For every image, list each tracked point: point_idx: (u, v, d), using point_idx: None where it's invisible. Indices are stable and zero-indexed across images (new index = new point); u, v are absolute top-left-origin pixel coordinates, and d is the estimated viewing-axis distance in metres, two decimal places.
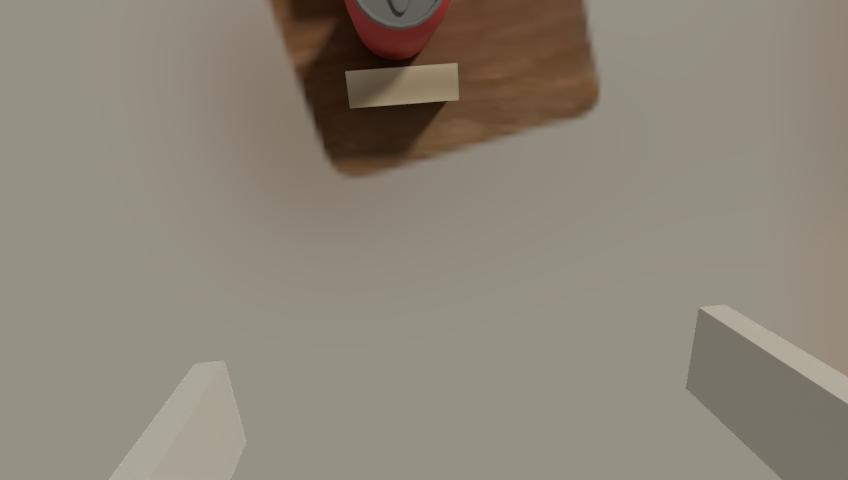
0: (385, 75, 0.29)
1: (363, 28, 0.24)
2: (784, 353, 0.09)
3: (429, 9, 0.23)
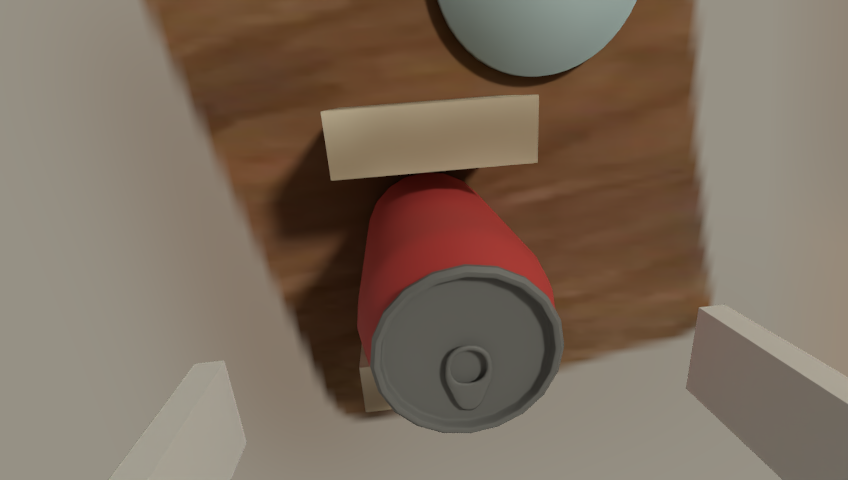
0: None
1: None
2: (784, 353, 0.09)
3: (522, 399, 0.12)
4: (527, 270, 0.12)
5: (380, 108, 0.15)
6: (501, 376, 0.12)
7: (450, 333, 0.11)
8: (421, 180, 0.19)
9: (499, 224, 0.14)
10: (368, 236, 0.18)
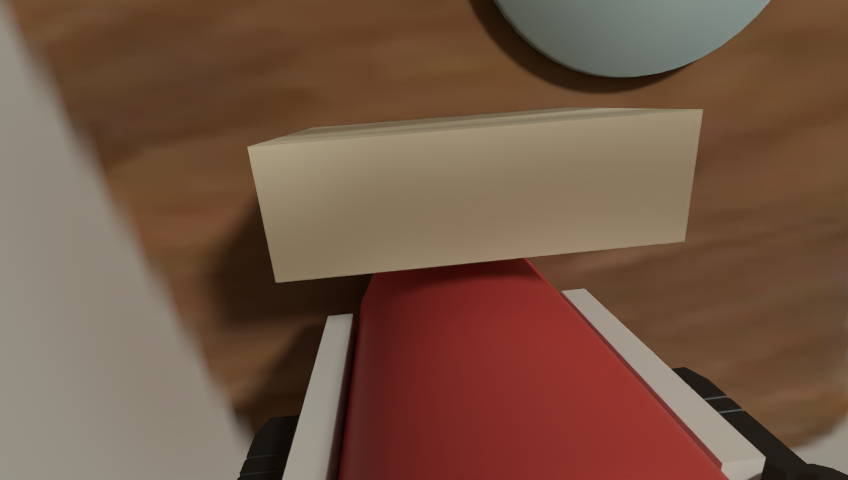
0: None
1: None
2: (607, 327, 0.11)
3: None
4: None
5: (375, 139, 0.07)
6: None
7: None
8: None
9: (649, 410, 0.06)
10: (356, 354, 0.10)
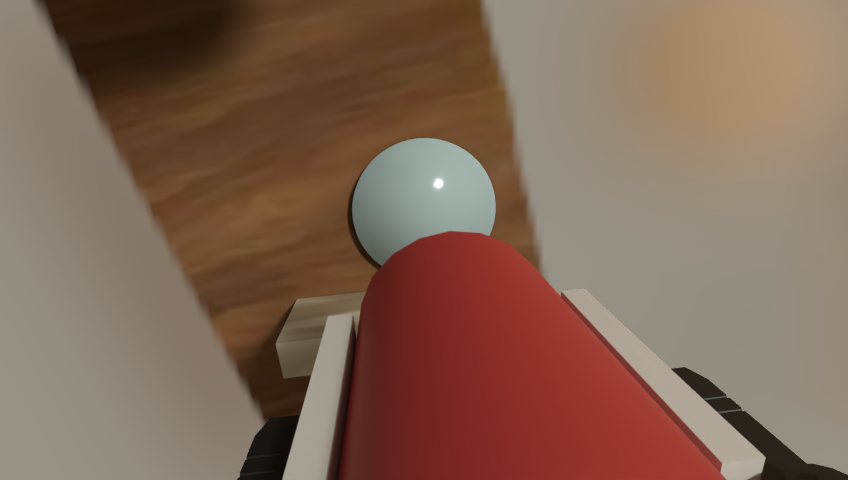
0: None
1: None
2: (607, 327, 0.11)
3: None
4: None
5: (311, 339, 0.25)
6: None
7: None
8: (446, 252, 0.12)
9: (648, 413, 0.06)
10: (356, 356, 0.10)
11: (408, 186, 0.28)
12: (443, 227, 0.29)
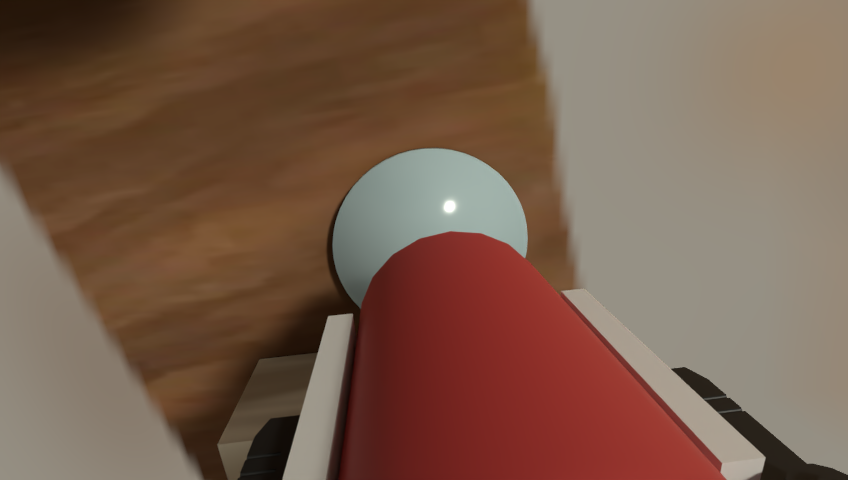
0: None
1: None
2: (607, 327, 0.11)
3: None
4: None
5: None
6: None
7: None
8: (446, 252, 0.12)
9: (649, 413, 0.06)
10: (356, 356, 0.10)
11: (410, 214, 0.20)
12: None
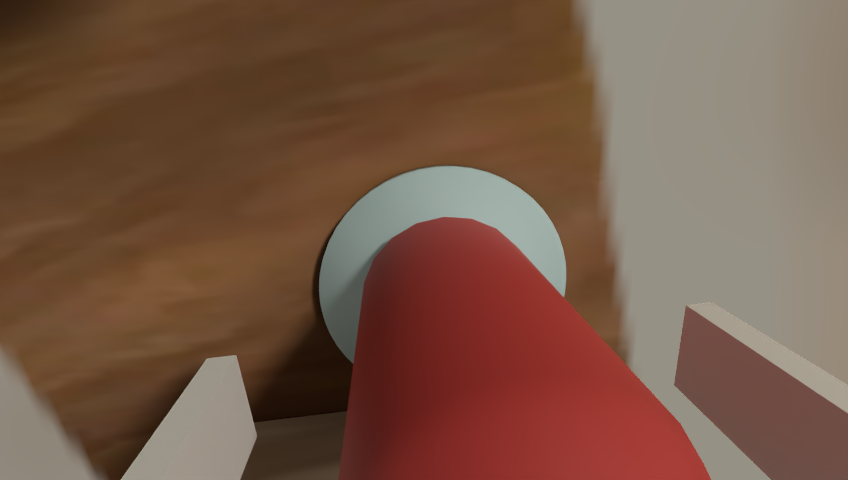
0: None
1: None
2: (767, 349, 0.09)
3: None
4: None
5: None
6: None
7: None
8: (440, 233, 0.13)
9: (597, 348, 0.07)
10: (360, 323, 0.12)
11: None
12: None
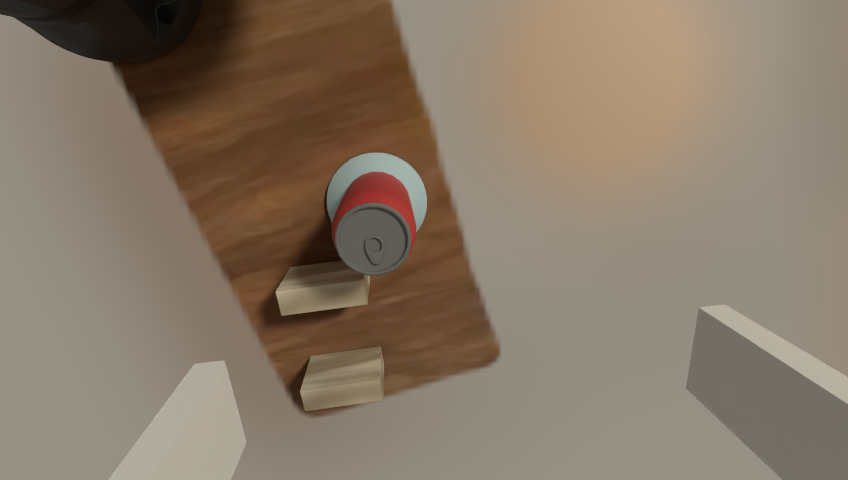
0: (329, 390, 0.41)
1: None
2: (784, 353, 0.09)
3: (398, 260, 0.30)
4: (396, 206, 0.30)
5: (299, 288, 0.37)
6: (388, 250, 0.30)
7: (366, 231, 0.29)
8: (368, 175, 0.37)
9: (392, 191, 0.32)
10: None
11: None
12: None
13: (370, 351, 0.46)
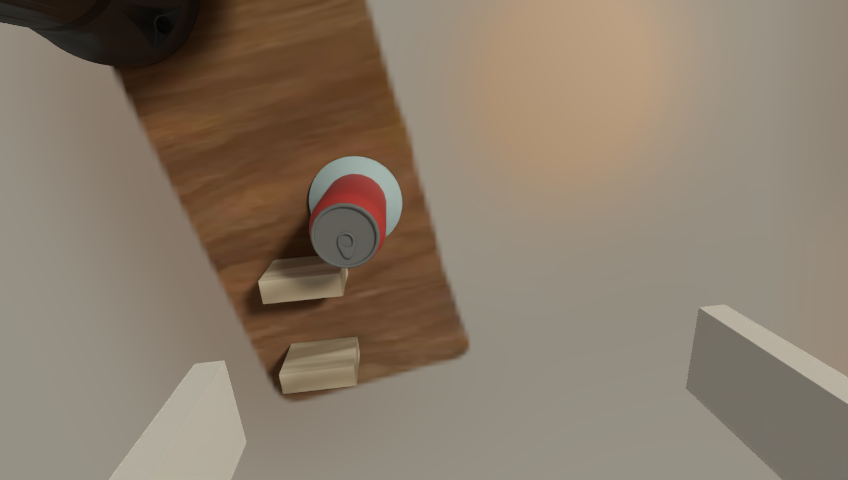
0: (306, 375, 0.44)
1: None
2: (784, 353, 0.09)
3: (367, 255, 0.34)
4: (366, 206, 0.33)
5: (280, 279, 0.40)
6: (359, 246, 0.33)
7: (339, 228, 0.33)
8: (346, 177, 0.41)
9: (365, 193, 0.35)
10: None
11: None
12: None
13: (346, 340, 0.49)
